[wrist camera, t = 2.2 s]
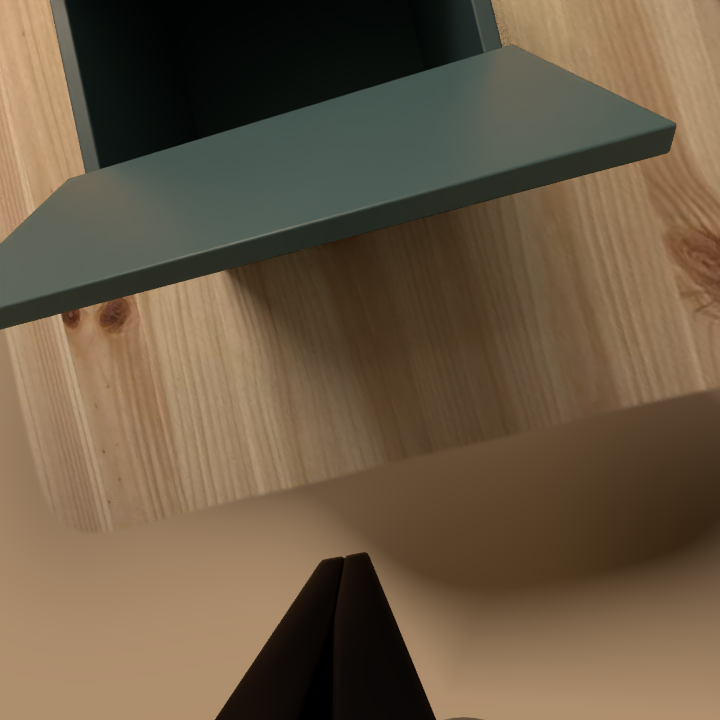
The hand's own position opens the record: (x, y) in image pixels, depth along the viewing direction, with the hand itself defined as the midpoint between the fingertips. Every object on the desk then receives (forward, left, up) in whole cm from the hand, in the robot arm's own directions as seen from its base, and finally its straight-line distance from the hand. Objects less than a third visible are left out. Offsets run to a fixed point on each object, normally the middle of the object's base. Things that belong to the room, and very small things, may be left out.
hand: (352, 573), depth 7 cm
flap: (+6, +6, -1) cm, 8 cm away
